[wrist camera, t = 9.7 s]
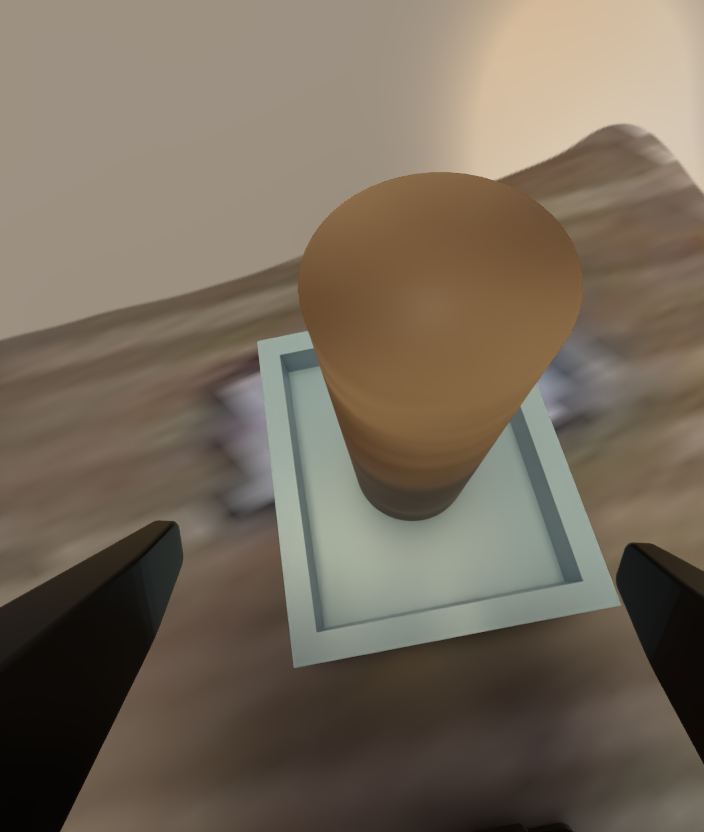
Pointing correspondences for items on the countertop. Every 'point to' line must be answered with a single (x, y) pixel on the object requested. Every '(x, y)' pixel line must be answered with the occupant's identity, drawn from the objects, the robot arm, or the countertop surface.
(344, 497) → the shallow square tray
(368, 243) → the walnut post
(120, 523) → the countertop surface
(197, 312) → the countertop surface
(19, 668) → the robot arm
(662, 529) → the countertop surface
